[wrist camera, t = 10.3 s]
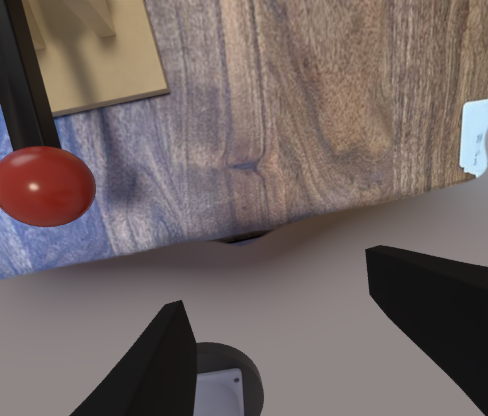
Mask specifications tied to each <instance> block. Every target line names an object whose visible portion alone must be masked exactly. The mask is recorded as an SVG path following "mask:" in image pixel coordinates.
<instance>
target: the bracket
mask: <svg viewBox="0 0 488 416" xmlns="http://www.w3.org/2000/svg"><path fill="white" fill-rule="evenodd" d="M22 3H23V7H24V11H25V15H26V18H27V22H28V26H29V29H30V33H31V37H32V41H33V44H34V48H35V52H36V55H37V59H38V63H39V67H40V70H41V74H42V78H43V81H44V85H45V89H46V93H47V96H48V100H49V104H50V107H51V111H52V115H53V117H56V116H61V115H66V114H70V113H75V112H80V111H85V110H89V109H94V108H99V107H104V106H108V105H113V104H118V103H123V102H127V101H132V100H137V99H142V98H146V97H151V96H156V95H161V94H165V93H170V89H169V85H168V82H167V78H166V75H165V71H164V68H163V64H162V60H161V57H160V53H159V50H158V46H157V42H156V39H155V35H154V32H153V28H152V24H151V21H150V17H149V14H148V10H147V7H146V3H145V0H22Z"/></svg>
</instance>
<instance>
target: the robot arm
mask: <svg viewBox="0 0 488 416" xmlns="http://www.w3.org/2000/svg"><path fill="white" fill-rule="evenodd" d="M365 252H366V262H367V272H368V283H369V293H370V295H371V297H372V298H373V299H374V301H375V302H376V303H377V304H378V306H379V307H380V308H381V309H382V310H383V312H384V313H385V314H386V315H387V316H388V318H390V320H392V321H393V323H394V324H395V325H397V326H398V327H399V328H400V329H401V330H402V331H403V332H404V333H405V334H406V335H407V336H408V337H409V338H410V339H411V340H412V341H413V342H414V343H415V344H416V345H417V346H418V347H420V349H422V351H423V352H425V353H426V354H427V355H428V356H429V357H430V358H431V359H432V360H433V361H434V362H435V363H436V364H437V365H438V366H439V367H440V368H441V369H442V370H443V371H444V372H445V373H447V375H448V376H450V378H451V379H452V380H453V381H454V382H455V383H456V384H457V385H458V386H459V387H460V388H461V389H462V390H463V391H464V392H465V393H466V395H468V397H469V398H470V399H471V400H472V401H473V402H474V404H475V405H476V406H477V407H478V408H479V409H480V410H481V411H482V412H483V414H484V415H485V416H488V267H485V266H480V265H474V264H468V263H464V262H459V261H454V260H449V259H445V258H440V257H436V256H431V255H427V254H422V253H418V252H413V251H409V250H404V249H399V248H394V247H388V246H382V245H379V246H375V247H372V248H368V249H365ZM235 378H237V379H235ZM70 416H244V404H243V388H242V373H241V370H240V369H238V368H234V369H227V370H221V371H214V372H208V373H201V374H197V343H196V341H195V338H194V335H193V332H192V329H191V326H190V323H189V320H188V317H187V314H186V311H185V308H184V305H183V302H182V300H179V301H176V302H172V303H169V304H165V305H164V306H163V308H162V309H161V310H160V311H159V312H158V314H157V315H156V317H155V318H154V319H153V320H152V322H151V323H150V324H149V325H148V327H147V328H146V329H145V330H144V332H143V333H142V334H141V335H140V337H139V338H138V339H137V341H136V342H135V343H134V344H133V346H132V347H131V348H130V349H129V351H128V352H127V353H126V354H125V355H124V356H123V358H122V359H121V360H120V361H119V362H118V363H117V365H116V366H115V367H114V368H113V369H112V370H111V372H110V373H109V374H108V375H107V376H106V378H105V379H104V380H103V381H102V382H101V383H100V384H99V385H98V386H97V387H96V389H95V390H94V391H93V392H92V393H91V394H90V395H89V396H88V397H87V398H86V400H84V401H83V402H82V403H81V404H80V405H79V406H78V407H77V408H76V409H75V411H74V412H73V413H72V414H71V415H70Z"/></svg>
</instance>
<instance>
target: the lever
mask: <svg viewBox="0 0 488 416" xmlns="http://www.w3.org/2000/svg"><path fill="white" fill-rule="evenodd" d="M0 104H1V108H2V112H3V115H4V119H5V123H6V126H7V130H8V134H9V137H10V141H11V145H12V148H13V152H12V153H10V154H8V155H7V156H5V157H4V158H3V159H2V160H1V161H0V208H1V209H2V210H3V211H4V212H5V213H6V214H7V215H9V216H10V217H12V218H14V219H15V220H17V221H20V222H22V223H25V224H28V225H32V226H38V227H55V226H60V225H64V224H67V223H70V222H72V221H74V220H76V219H78V218H79V217H81V216H82V215H83V214H84V213H85V212H86V211H87V210H88V209H89V208H90V206H91V205H92V203H93V200H94V198H95V194H96V184H95V179H94V176H93V174H92V172H91V170H90V169H89V168H88V166H87V165H86V164H85V163H84V162H83V161H82V160H81V159H80V158H78V157H77V156H75V155H74V154H72V153H70V152H68V151H66V150H63V149H62V148H61V145H60V141H59V137H58V133H57V130H56V126H55V122H54V119H53V115H52V111H51V107H50V104H49V100H48V96H47V93H46V89H45V85H44V81H43V78H42V74H41V70H40V67H39V63H38V59H37V55H36V52H35V48H34V44H33V41H32V37H31V33H30V29H29V26H28V22H27V18H26V15H25V11H24V7H23V3H22V0H0Z"/></svg>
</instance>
